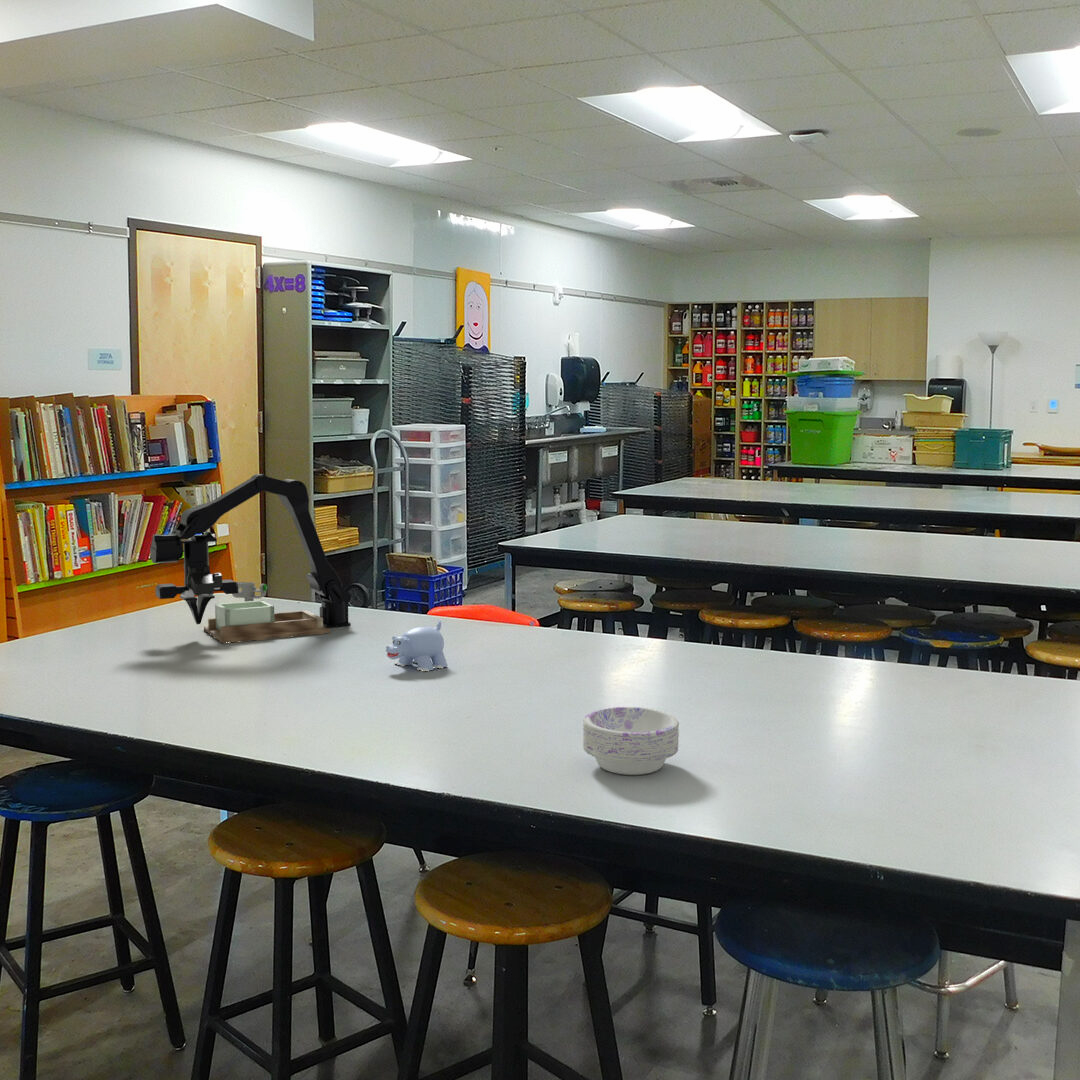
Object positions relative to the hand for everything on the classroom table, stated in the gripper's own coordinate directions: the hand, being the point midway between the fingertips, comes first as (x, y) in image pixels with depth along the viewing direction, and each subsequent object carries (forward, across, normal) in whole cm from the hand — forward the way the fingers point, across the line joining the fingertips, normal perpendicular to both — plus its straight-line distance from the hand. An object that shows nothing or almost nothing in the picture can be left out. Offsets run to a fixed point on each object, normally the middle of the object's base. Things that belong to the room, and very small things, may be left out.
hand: (198, 624), depth 280 cm
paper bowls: (+4, +37, -134) cm, 138 cm away
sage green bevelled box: (+2, +12, 0) cm, 12 cm away
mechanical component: (+4, +17, +18) cm, 25 cm away
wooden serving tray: (+4, +17, 0) cm, 17 cm away
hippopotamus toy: (+4, +35, -53) cm, 63 cm away
